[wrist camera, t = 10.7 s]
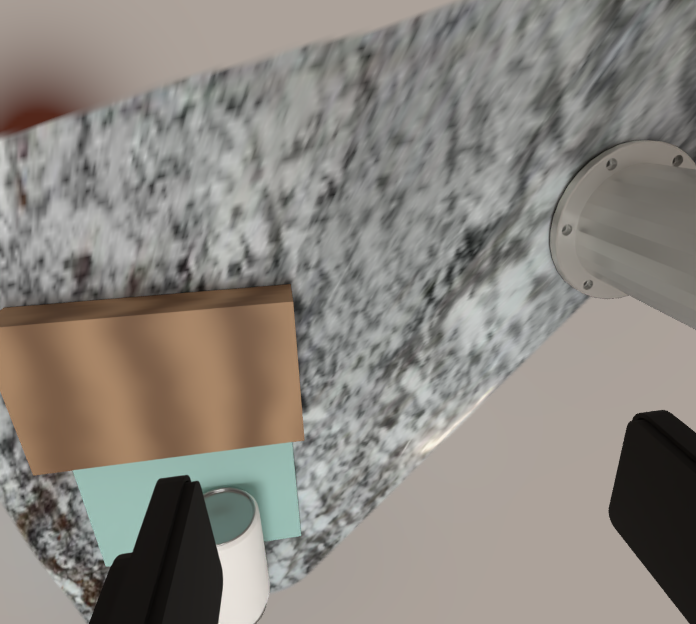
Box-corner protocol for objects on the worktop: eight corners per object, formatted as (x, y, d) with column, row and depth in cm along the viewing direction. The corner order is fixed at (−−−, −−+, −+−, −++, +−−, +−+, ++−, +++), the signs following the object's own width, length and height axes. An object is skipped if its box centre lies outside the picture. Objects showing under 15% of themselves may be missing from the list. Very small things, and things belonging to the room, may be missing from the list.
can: (273, 518, 38) (284, 607, 43) (236, 472, 43) (250, 559, 48) (198, 565, 34) (220, 657, 40) (166, 511, 39) (190, 600, 44)
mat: (289, 415, 40) (289, 418, 40) (300, 532, 46) (301, 535, 45) (66, 442, 38) (64, 445, 37) (107, 562, 43) (106, 566, 43)
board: (290, 284, 35) (293, 301, 32) (301, 414, 40) (304, 440, 37) (3, 307, 33) (-25, 329, 29) (52, 444, 38) (33, 475, 34)
